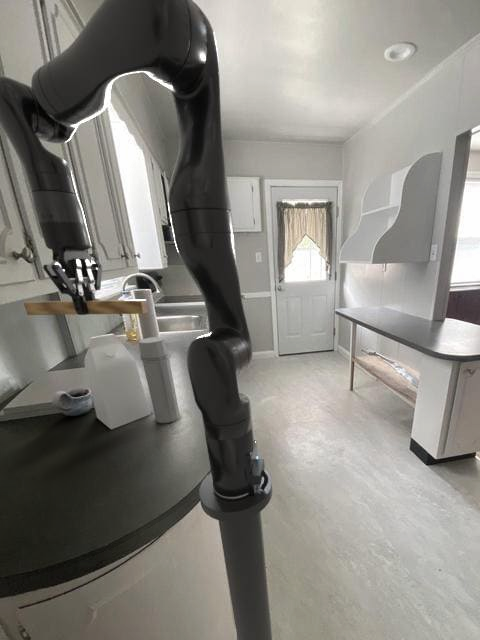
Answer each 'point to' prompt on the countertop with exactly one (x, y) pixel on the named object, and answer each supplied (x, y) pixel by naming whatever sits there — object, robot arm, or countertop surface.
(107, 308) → the stick
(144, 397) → the milk
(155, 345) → the water bottle
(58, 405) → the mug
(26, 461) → the countertop surface
